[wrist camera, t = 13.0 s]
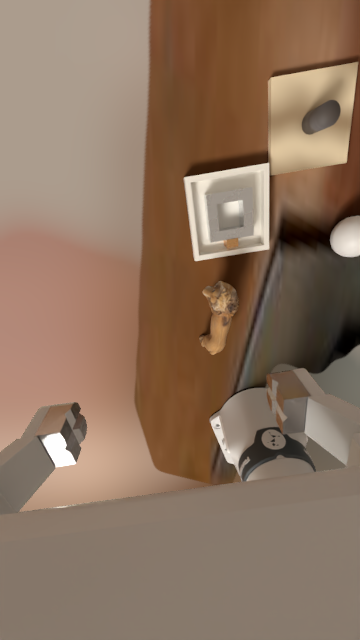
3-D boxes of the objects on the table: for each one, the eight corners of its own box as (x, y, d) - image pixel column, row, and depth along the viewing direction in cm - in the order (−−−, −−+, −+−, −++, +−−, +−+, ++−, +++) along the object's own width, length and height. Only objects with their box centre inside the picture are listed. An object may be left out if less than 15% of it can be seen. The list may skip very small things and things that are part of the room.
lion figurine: (197, 270, 40) (204, 289, 32) (231, 268, 41) (246, 287, 32) (198, 349, 47) (205, 381, 39) (227, 347, 47) (240, 379, 39)
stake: (341, 163, 35) (367, 158, 30) (268, 176, 35) (282, 173, 30) (352, 65, 30) (384, 43, 26) (268, 80, 31) (285, 61, 26)
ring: (247, 187, 35) (252, 187, 33) (249, 240, 38) (254, 243, 36) (203, 195, 35) (206, 195, 33) (209, 247, 38) (211, 250, 36)
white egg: (330, 260, 41) (353, 269, 36) (316, 229, 38) (338, 235, 33) (377, 230, 39) (409, 235, 34) (366, 196, 37) (397, 197, 32)
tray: (264, 246, 39) (269, 249, 37) (193, 258, 39) (194, 261, 38) (264, 164, 34) (269, 162, 33) (183, 178, 35) (184, 177, 33)
